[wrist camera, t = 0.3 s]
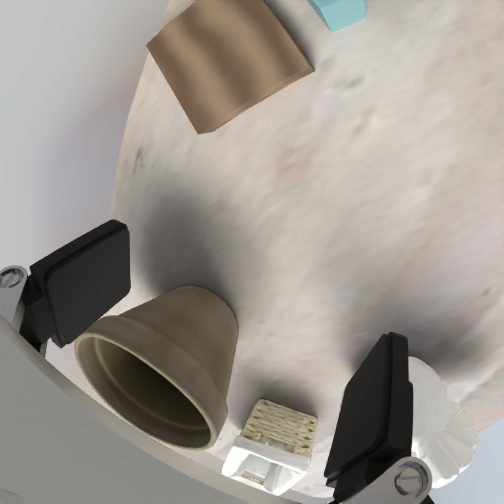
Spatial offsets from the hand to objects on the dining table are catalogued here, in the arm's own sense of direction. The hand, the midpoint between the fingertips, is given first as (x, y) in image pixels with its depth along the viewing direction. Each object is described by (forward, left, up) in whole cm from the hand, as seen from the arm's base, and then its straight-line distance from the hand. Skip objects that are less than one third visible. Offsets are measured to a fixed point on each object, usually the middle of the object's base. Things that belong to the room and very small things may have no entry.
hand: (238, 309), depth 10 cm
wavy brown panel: (+4, -19, -30) cm, 36 cm away
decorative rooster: (+1, +40, -30) cm, 50 cm away
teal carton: (-11, -17, -30) cm, 36 cm away
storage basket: (+35, +50, -30) cm, 68 cm away
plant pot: (+32, +15, -30) cm, 47 cm away
